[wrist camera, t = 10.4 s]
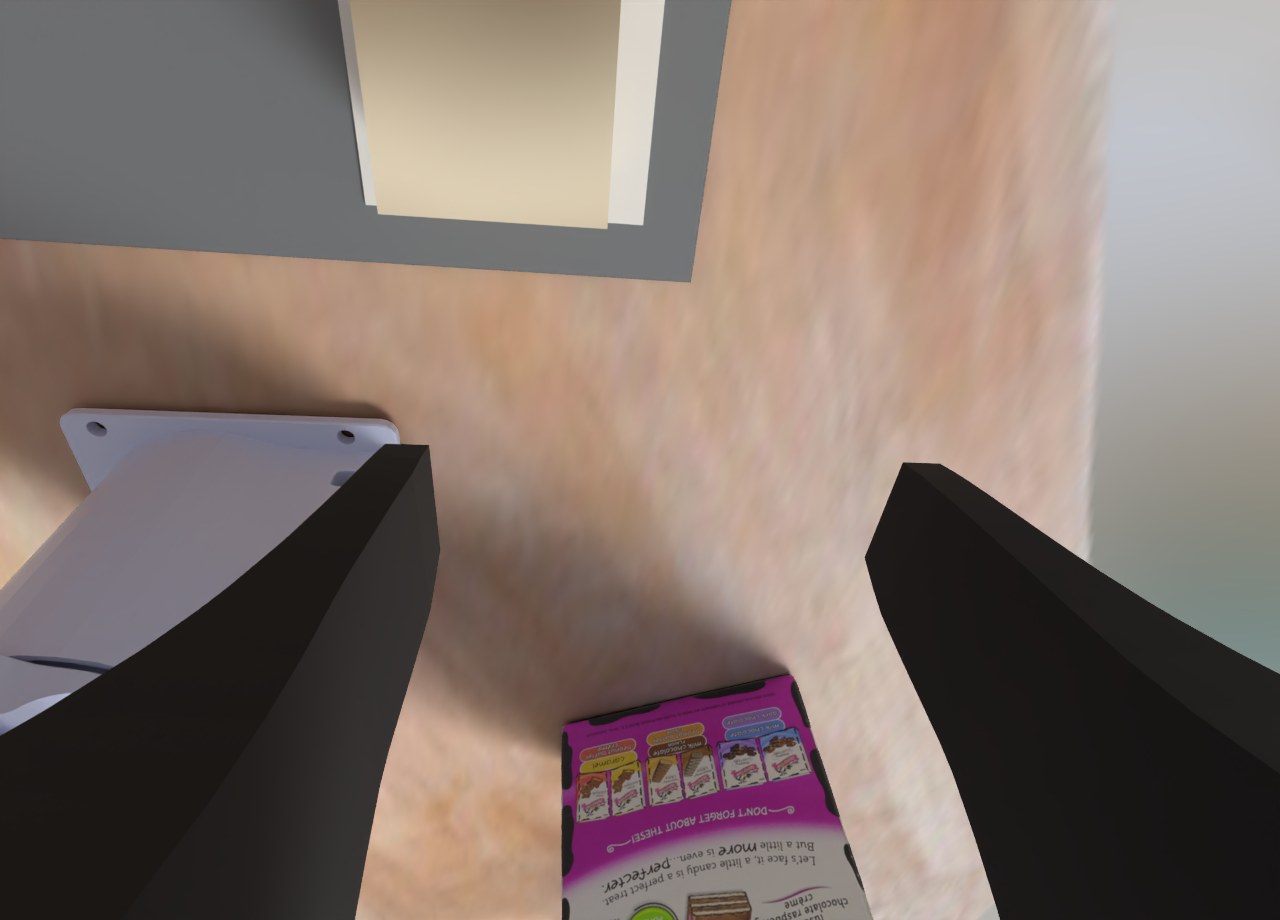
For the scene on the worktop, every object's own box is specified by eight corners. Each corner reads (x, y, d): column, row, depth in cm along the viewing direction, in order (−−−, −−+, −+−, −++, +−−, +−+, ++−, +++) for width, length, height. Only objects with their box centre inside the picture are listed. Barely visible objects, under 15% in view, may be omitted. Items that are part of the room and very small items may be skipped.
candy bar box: (588, 774, 34) (599, 1284, 21) (559, 720, 31) (549, 1273, 18) (806, 729, 33) (961, 1229, 20) (796, 669, 30) (971, 1209, 17)
